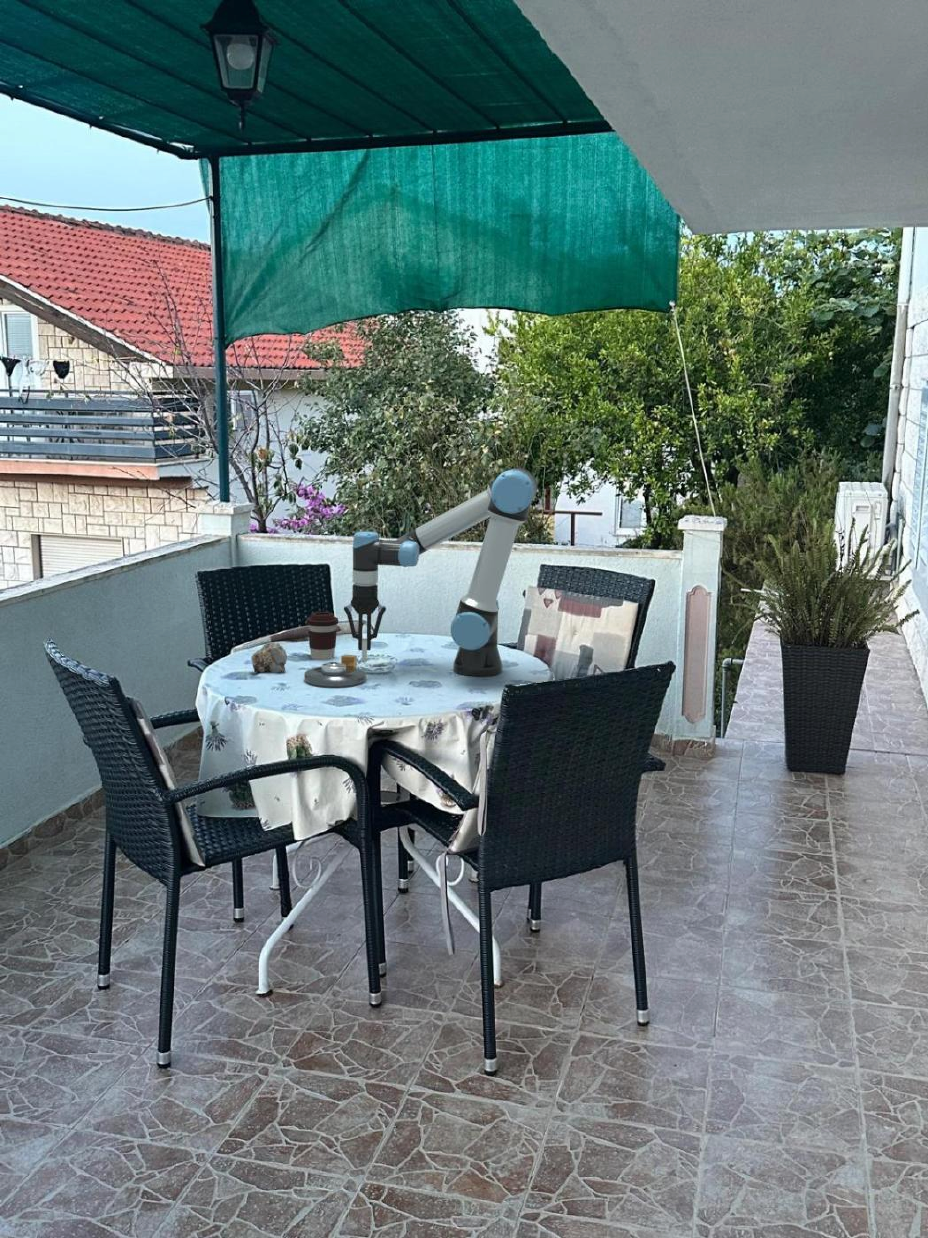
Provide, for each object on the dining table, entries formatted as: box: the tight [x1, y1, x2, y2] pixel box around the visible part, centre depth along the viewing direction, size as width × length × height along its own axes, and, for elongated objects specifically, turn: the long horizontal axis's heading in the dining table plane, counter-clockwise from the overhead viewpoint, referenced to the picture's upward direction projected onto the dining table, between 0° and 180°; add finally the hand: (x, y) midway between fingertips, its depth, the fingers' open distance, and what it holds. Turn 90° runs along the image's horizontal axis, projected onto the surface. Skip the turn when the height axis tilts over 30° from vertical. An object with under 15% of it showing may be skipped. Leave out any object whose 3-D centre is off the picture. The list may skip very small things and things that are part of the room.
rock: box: [250, 641, 288, 675], centre depth 351 cm, size 9×12×10 cm
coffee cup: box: [306, 611, 339, 661], centre depth 368 cm, size 10×10×15 cm
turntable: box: [303, 654, 367, 689], centre depth 343 cm, size 18×21×5 cm
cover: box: [321, 661, 346, 676], centre depth 341 cm, size 7×7×3 cm
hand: (364, 660), depth 352 cm, fingers closed
